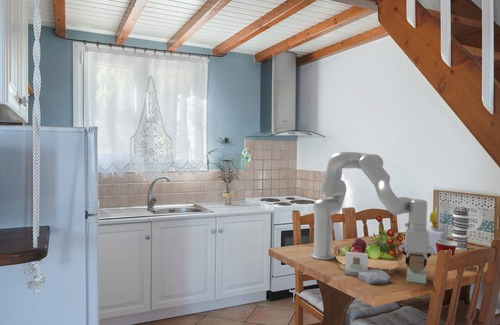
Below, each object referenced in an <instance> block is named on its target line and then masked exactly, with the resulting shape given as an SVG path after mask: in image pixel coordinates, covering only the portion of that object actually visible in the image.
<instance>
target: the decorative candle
mask: <svg viewBox="0 0 500 325" xmlns="http://www.w3.org/2000/svg"><path fill="white" fill-rule="evenodd" d="M452 210H453V213H452V215H451V216H452V217H451V219H452V221H451V222H452V223H451V225H452V226H451V229H452V235H451V242H455V243H457V244H458V245H457V246H456V249H455V250H458V251H467V250H468V243H467V242H468V234H467V233H468V231H469V228H468V227H469V225H468V224H469V216H468V215H469V214H468V213H469V210H468V209H467V207H465V206H455V207H454V208H453V209H452Z"/></svg>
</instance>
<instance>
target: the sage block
mask: <svg viewBox="0 0 500 325" xmlns="http://www.w3.org/2000/svg"><path fill="white" fill-rule="evenodd" d="M406 268H407V270H406V282H411V283H417V284H424V285H425V284H427V270H426V269H424V270H414V269H409V267H406Z"/></svg>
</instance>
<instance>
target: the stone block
mask: <svg viewBox="0 0 500 325" xmlns="http://www.w3.org/2000/svg"><path fill="white" fill-rule="evenodd" d="M357 277H358V280H359V281H361V282H364V283H366V284H368V285H378V284H379V285H380V284H381V285H382V284H388V283H390V281H391V276H390V275H389V274H388V273H387V272H385V271H383V270H382V269H378V268H372V269H367V272H360V273H359V276H357Z"/></svg>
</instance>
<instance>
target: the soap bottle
mask: <svg viewBox="0 0 500 325" xmlns="http://www.w3.org/2000/svg"><path fill="white" fill-rule="evenodd" d="M438 214H439V212H437V211H432V212H431V213H430V214H429V222H431V224H432V225H431V226H430V228H426V230H427V231H428V233H429V245H430V246H431V247H432V248H433V249H434V250H435V253H433V254H432V255H436V256H437V249H436V243H435V240H437V239H440V240H447V239H448V232H447V231H443V230H438V226H437V224H438V223H439V221H437V219H436V217H437V215H438ZM447 241H448V240H447ZM430 251H431V250H430V249H429V252H430Z"/></svg>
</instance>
